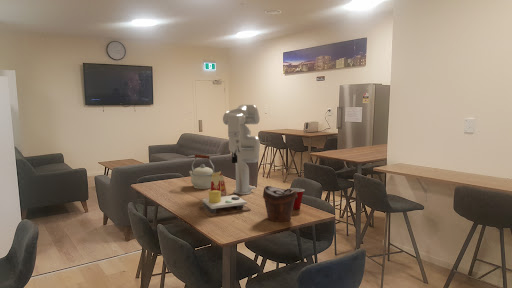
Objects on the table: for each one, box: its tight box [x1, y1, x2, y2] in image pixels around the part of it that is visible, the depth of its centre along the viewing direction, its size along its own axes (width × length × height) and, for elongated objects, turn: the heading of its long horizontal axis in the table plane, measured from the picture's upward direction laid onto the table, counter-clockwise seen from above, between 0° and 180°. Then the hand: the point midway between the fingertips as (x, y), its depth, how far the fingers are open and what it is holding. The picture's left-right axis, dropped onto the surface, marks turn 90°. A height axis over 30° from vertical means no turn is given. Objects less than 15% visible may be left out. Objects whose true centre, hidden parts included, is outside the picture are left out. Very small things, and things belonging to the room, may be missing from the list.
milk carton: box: [210, 170, 228, 197], centre depth 238 cm, size 9×9×20 cm
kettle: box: [188, 154, 215, 190], centre depth 277 cm, size 25×18×25 cm
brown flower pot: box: [262, 185, 298, 223], centre depth 201 cm, size 18×20×18 cm
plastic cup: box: [287, 187, 305, 210], centre depth 221 cm, size 11×11×12 cm
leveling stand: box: [198, 201, 251, 217], centre depth 219 cm, size 26×20×4 cm
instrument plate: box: [201, 190, 248, 209], centre depth 219 cm, size 22×18×8 cm
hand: (234, 162), depth 228 cm, fingers closed
